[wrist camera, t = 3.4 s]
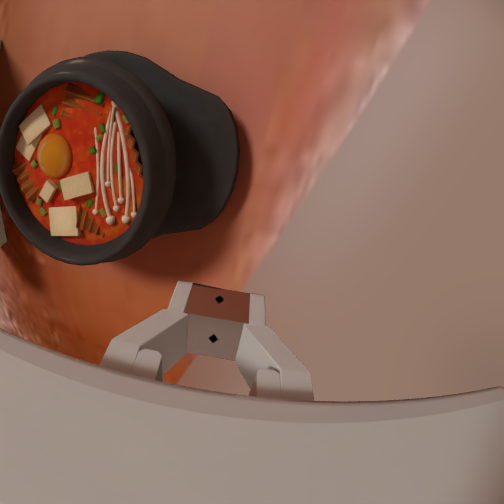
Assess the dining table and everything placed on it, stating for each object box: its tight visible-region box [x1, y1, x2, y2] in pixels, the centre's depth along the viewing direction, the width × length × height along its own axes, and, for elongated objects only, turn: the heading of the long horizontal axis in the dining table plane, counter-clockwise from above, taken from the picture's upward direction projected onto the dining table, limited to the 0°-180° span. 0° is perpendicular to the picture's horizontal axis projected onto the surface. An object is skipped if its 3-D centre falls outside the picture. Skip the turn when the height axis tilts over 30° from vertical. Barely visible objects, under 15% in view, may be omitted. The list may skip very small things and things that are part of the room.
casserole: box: [0, 51, 240, 265], centre depth 21 cm, size 25×19×8 cm
